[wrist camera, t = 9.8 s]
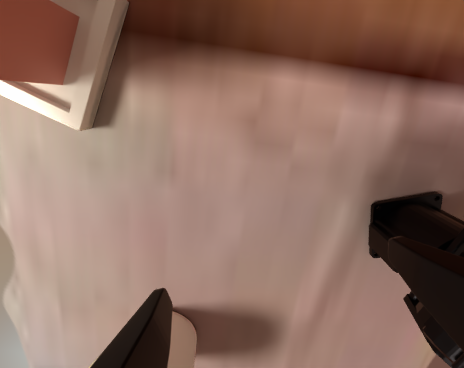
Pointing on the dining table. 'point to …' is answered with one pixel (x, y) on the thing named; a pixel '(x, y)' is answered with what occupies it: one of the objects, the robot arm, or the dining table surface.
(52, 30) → the two tone block
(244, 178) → the dining table surface
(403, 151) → the dining table surface
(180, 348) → the mug
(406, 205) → the robot arm
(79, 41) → the white tray
